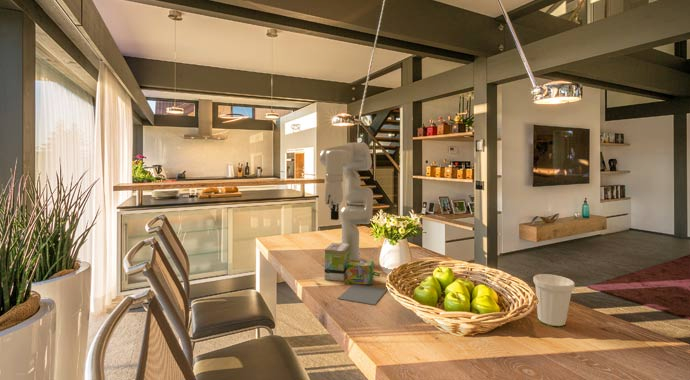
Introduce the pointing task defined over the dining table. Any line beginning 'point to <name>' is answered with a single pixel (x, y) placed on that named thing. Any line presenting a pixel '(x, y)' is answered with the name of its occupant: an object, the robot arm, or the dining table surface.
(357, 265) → the chalk box
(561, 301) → the cup
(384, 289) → the mat
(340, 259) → the tea box
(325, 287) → the dining table surface
